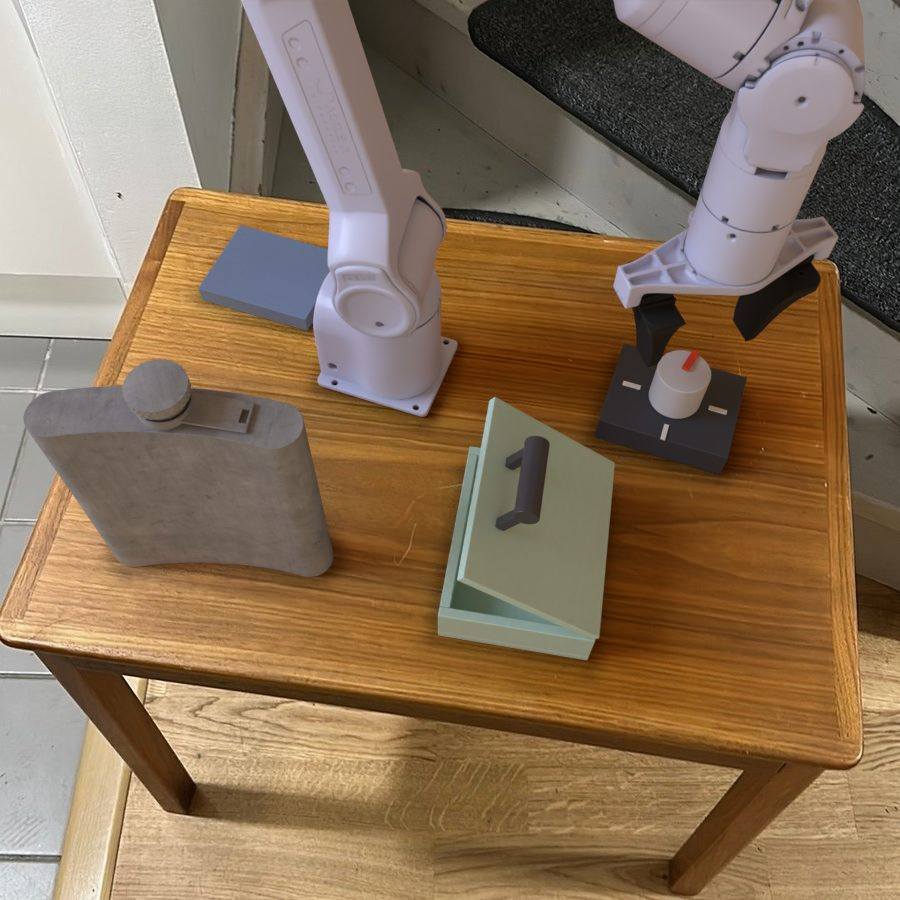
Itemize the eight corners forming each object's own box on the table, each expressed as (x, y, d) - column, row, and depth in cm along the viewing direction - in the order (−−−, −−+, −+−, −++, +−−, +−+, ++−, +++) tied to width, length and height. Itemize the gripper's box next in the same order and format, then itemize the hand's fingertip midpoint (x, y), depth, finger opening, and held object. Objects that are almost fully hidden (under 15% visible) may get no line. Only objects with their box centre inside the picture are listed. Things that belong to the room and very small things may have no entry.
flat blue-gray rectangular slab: (201, 300, 80) (197, 288, 78) (243, 236, 84) (240, 224, 82) (307, 331, 78) (305, 319, 77) (345, 265, 82) (343, 253, 81)
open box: (437, 635, 64) (437, 615, 61) (468, 471, 71) (469, 445, 68) (587, 660, 63) (595, 641, 60) (603, 492, 70) (611, 467, 67)
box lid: (456, 580, 55) (498, 561, 52) (488, 400, 62) (528, 373, 59) (592, 640, 60) (639, 626, 57) (608, 466, 67) (651, 444, 64)
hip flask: (110, 566, 66) (-3, 410, 49) (123, 516, 69) (20, 349, 52) (330, 578, 66) (293, 425, 49) (337, 527, 68) (304, 364, 51)
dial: (687, 427, 70) (699, 399, 67) (639, 404, 71) (649, 374, 68) (708, 391, 72) (721, 361, 69) (661, 369, 73) (672, 339, 70)
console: (593, 438, 73) (598, 419, 70) (619, 360, 77) (624, 340, 74) (719, 476, 71) (728, 458, 69) (738, 394, 75) (748, 374, 73)
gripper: (823, 130, 57) (759, 279, 69) (609, 178, 55) (579, 324, 67) (885, 207, 54) (806, 350, 66) (659, 262, 51) (618, 401, 63)
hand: (695, 342), depth 66 cm, fingers open, 7 cm apart
